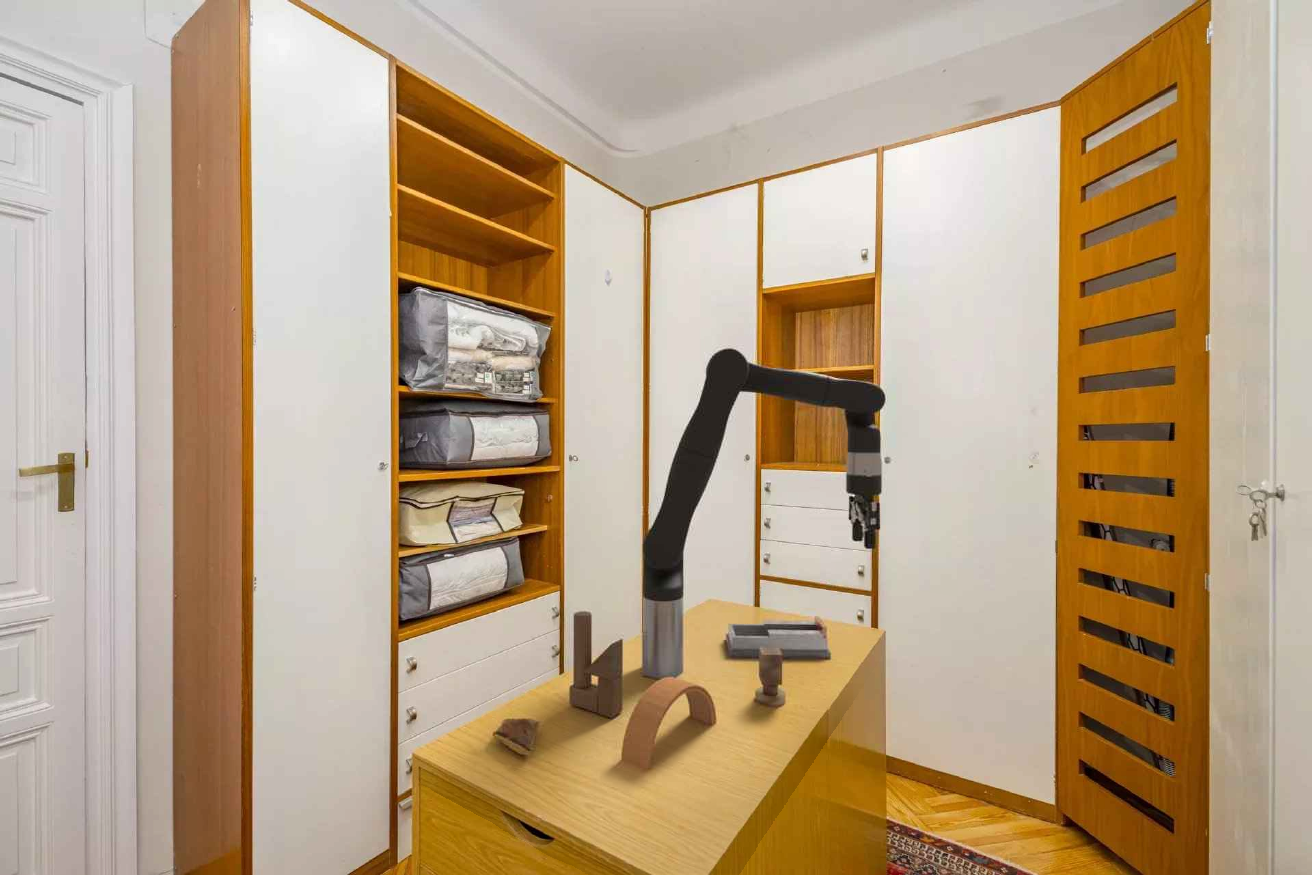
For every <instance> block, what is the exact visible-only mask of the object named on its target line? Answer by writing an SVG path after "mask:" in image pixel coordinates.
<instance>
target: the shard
mask: <svg viewBox="0 0 1312 875" xmlns="http://www.w3.org/2000/svg"><path fill="white" fill-rule="evenodd" d="M539 725H540V721H539V720H535V719H531V718H505V719H503V720H502V722H501V723H500V726H499V727H498V728H497V729H496V730H495V731H493V733H492V738H493V739H494V740H495V741H499V742H501V743H502V744H503V745H506V746H507V747H508V748H510V749H511V750H513V751H515V752H516V753H517V754H520V755H524V756H526V757H529V758H530V757H531V754H532V748H533V744H534V740H535V739H536V735H537V733H538V730H539V727H540V726H539Z"/></svg>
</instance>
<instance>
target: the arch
mask: <svg viewBox="0 0 1312 875" xmlns="http://www.w3.org/2000/svg"><path fill="white" fill-rule="evenodd" d="M684 694H685V696H686V699H687V702H688V709H689V716H690V717H692V718H693V719H696V720H698V721H701V722H705V723H707V724H709V725H710V724H711V725H712V726H713V725H715V724H717V712H716V708H715V707H716V706H715V703H714V700H713V698H712V696H711V694H710V693H709V691H708V690H707V689H706V688H705V687H703V686H700V685H698V684H695V683H691V682H690V681H686V680H683V679H680V678H679V677H678V678H677V677H666V678H662V679H658V680H657V681H655V682H654V683H653V684H651V685H650V686H649V687H648V689H646V690H645V691H644V693H643V694H642V696H641V697H639V698H640V699H639V700H638V702H637V703H636V705H635V707H634V708H633V711H632V713H631V715H630V717H629V720H628V723H627V726H626V728H625V732H624V735H623V736H624V737H623V741H622V747H621V760H622V761H624V762H626V763H628V764H630V765H633V766H635V767H637V768H639V769H641V770H643V771H645V772H648V771H649V770H651V765H652V764H651V762H652V761H651V760H652V753H653V750H654V749H653V748H654V743H655V741H656V737H657V734H658V731H659V728H660V726H661V724H662V721H663V720H664V718H665V717H666V714H667V712H668V711H669V710H670V708H671V707H672V705H673V704H674V703H675V702H676V701H677V700H678V699H679V698H680V697H682V695H684Z"/></svg>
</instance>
